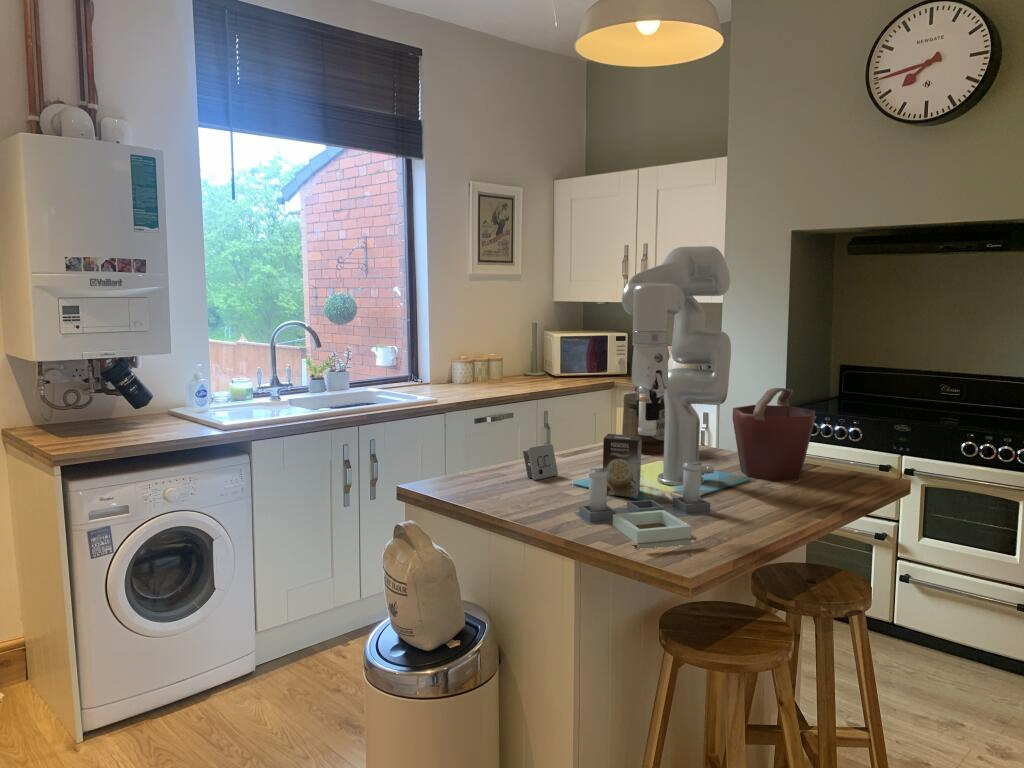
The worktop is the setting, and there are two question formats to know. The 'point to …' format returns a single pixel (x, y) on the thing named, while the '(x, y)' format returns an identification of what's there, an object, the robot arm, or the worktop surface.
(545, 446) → the electrical switch
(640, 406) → the cylinder
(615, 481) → the coffee box
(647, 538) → the tray
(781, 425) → the bucket
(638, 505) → the fuse block
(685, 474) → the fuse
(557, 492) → the worktop surface
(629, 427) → the wooden container
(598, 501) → the fuse
